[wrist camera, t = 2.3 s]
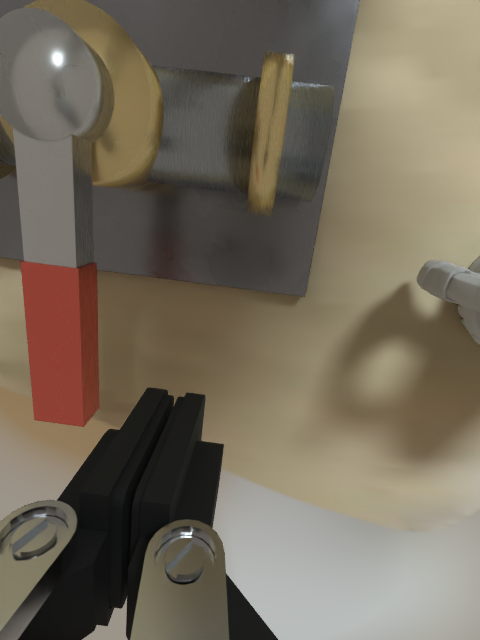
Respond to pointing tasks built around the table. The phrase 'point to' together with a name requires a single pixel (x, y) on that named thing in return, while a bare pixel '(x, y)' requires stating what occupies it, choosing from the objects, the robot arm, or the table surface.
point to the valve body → (206, 136)
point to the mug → (455, 289)
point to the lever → (56, 202)
